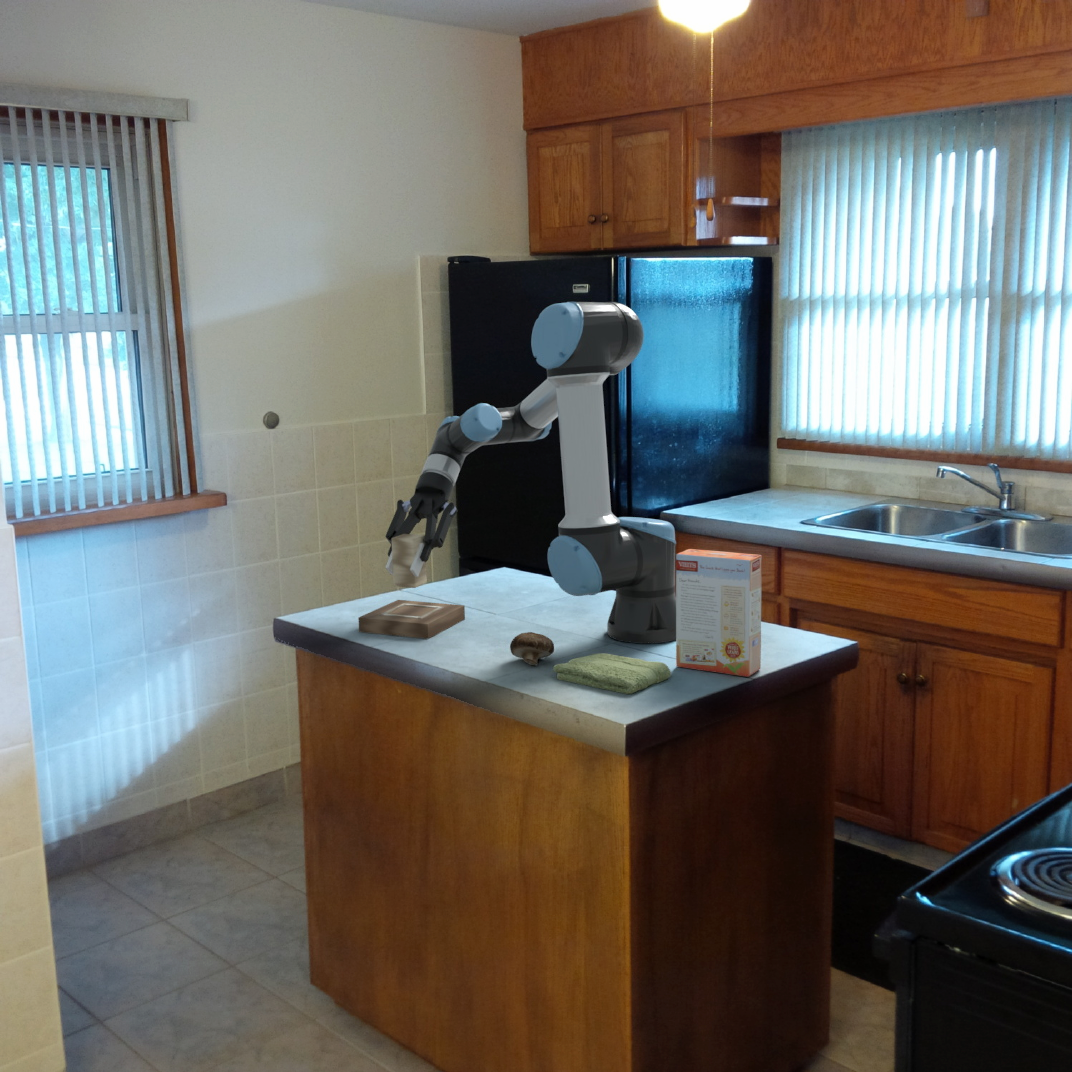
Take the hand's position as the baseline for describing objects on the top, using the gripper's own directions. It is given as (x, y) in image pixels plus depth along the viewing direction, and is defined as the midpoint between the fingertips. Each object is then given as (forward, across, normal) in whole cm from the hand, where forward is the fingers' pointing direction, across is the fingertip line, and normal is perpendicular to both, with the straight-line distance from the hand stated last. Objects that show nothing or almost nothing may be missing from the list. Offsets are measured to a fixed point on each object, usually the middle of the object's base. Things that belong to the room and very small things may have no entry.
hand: (401, 572), depth 234 cm
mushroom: (+17, -34, 0) cm, 38 cm away
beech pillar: (0, 0, -5) cm, 5 cm away
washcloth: (+20, -51, +3) cm, 55 cm away
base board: (+6, 0, -10) cm, 12 cm away
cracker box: (+12, -67, -5) cm, 68 cm away
